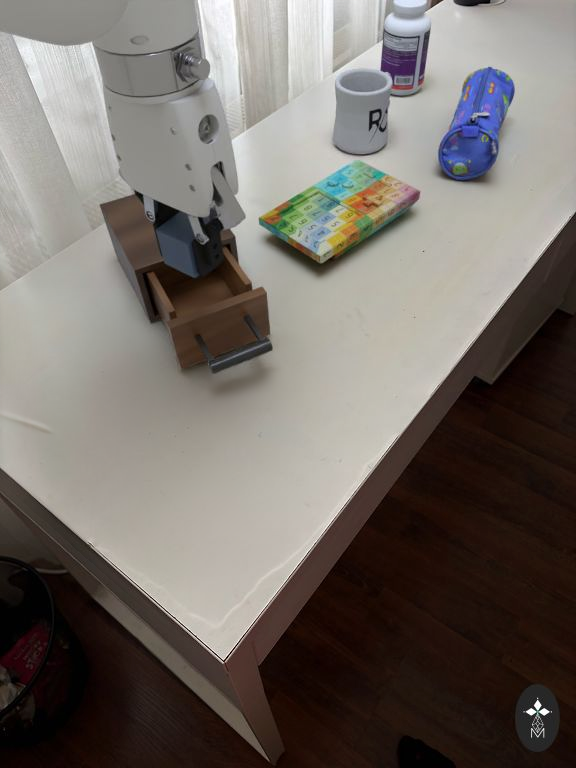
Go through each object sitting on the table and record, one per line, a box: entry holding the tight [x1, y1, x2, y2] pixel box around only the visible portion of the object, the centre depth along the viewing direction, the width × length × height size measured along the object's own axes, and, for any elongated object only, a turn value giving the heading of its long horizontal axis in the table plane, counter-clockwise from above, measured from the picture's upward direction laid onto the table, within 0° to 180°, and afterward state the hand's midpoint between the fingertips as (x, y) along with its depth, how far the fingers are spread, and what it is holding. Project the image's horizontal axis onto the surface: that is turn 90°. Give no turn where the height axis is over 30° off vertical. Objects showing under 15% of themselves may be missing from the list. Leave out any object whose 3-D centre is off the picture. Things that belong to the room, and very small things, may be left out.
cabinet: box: [99, 193, 240, 324], centre depth 76 cm, size 15×13×9 cm
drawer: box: [143, 245, 274, 375], centre depth 68 cm, size 19×11×7 cm, turn 27°
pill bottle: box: [379, 0, 432, 96], centre depth 104 cm, size 8×8×14 cm
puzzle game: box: [258, 159, 421, 264], centre depth 83 cm, size 12×5×20 cm
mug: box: [332, 67, 393, 155], centre depth 95 cm, size 12×9×10 cm
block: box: [156, 211, 210, 278], centre depth 56 cm, size 4×4×4 cm
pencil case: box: [437, 66, 516, 181], centre depth 92 cm, size 22×9×10 cm, turn 160°
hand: (192, 257), depth 57 cm, fingers closed on block, 4 cm apart
